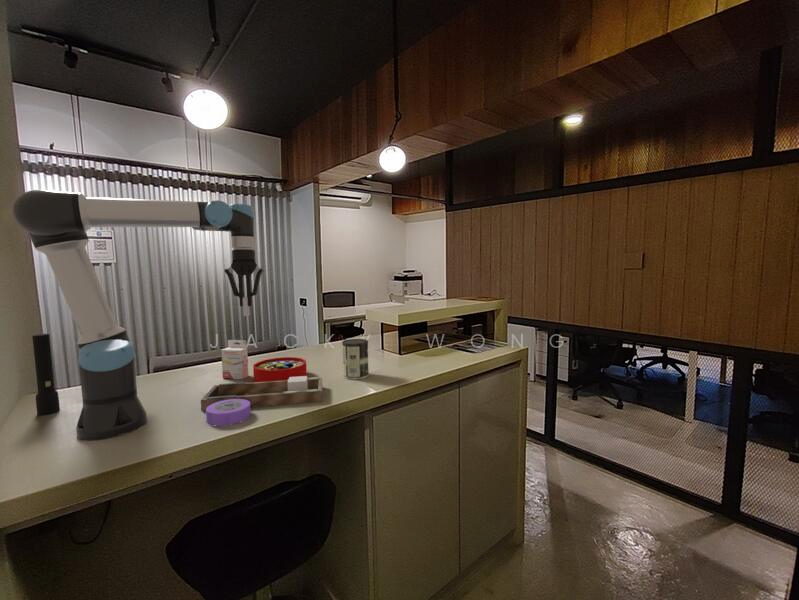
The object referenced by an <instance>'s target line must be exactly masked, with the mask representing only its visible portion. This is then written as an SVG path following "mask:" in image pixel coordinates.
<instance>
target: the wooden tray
mask: <svg viewBox="0 0 799 600" xmlns="http://www.w3.org/2000/svg"><path fill="white" fill-rule="evenodd" d="M288 380H289V379H288ZM288 380H282V381H268V382H246V381H243V382H229V383H226V382H225V383H219V384H214V385H213V386H212V387H211V388H210V390H209V391H208V392H206V393H205V395H204V396H203V397H202V398H201V399H200V406H201V408H200V409H201V412H206V408H207V407H208V406H209V405H211V404H213V403H216V402H219V401H223V400H229V399H244V400H248V401H249V402H250V408H254V407H253V406H259V407H268V406H267V405H272V406H277V405H276V404H284V405H291V404H290V403H297V404H305V402H309V403H316V402H315V401H321V402H323V378H322V377H307V384H308V390H299V391H288ZM317 388H318V389H317ZM273 391H279V392H273ZM260 392H265V393H260ZM245 393H251V394H245Z"/></svg>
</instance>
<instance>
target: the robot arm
mask: <svg viewBox="0 0 799 600" xmlns="http://www.w3.org/2000/svg"><path fill="white" fill-rule="evenodd" d="M11 214H12V216H13V217H12V218H14V220H15V222H16V223H17V225H18V226H20V227H21V228H22V229H24V230H25V231H26V232H27V234H28V236H29V239H30V240H31V243H32V244H33V247H34V249H35V250H36V251H38V252H39V253H42V254H44V255H45V256H46V259H47V261H48V263H49V265H50V268H51V271H52V273H53V274H54V277H55V279H56V282H57V283H58V286H59V288H60V291H61V293H62V295H63V297H64V299H65V302H66V304H67V307H68V309H69V311H70V313H71V316H72V318H73V320H74V323H75V325H76V327H77V329H78V332H79V334H80V337H79V338H78V341H76V345H77V346H78V349H79V351H78V358H77V363H78V365H79V375H80V384H81V385H80V386H81V387H80V388H81V396H82V408H81V411H80V414H79V418H78V421H77V424H76V429H75V431H76V437H77V439H80V440H84V441H95V440H96V441H98V440H103V439H104V440H105V439H109V438H110V439H111V438H115V437H118V436H122V435H125V434H127V433H131V432H134V431H135V430H138V429H140V428H141V427H143V426H144V425H145V424H146V423H147V421H148V418H147V416H148V415H147V411H146V410H145V407H144V406H143V404H142V402H141V400H140V398H139V396H138V391H137V390H138V387H137V386H138V385H137V376H136V360H137V351H136V348H135V346H134V344H133V343H132V342H131V341H130V338H129V335H128V331H127V330H126V328H124V327H122V326H120V325H118V324H117V322H116V320H115V318H114V314H113V312H112V310H111V308H110V305H109V302H108V300H107V297H106V296H105V293H104V291H103V288H102V285H101V283H100V280H99V278H98V276H97V273H96V271H95V268H94V266H93V263H92V261H91V259H90V256H89V254H88V252H87V249H86V246H87V245H88V243H89V242H90V239H89V237H88V234H87V231H88V230H90V229H91V228H191V229H193V230H194V231H202V232H205V231H206V232H230V237H231V238H230V240H231V241H230V242H231V249H232V251H231V260H232V262H231V265H230V266H229V267H227V268H225V269H224V270H223V271H224V273H225V275H227V277H228V281H229V283H230V284H229V285H230V288H231V291H232V293H233V296H234V297H238V298H239V305H240V307H242V310H243V311H242V313H243V314H242V315H243V317H248V316H250V307H252V306H253V297H254V296H256V295H257V294H258V291H259V285H260V281H261V276H262V274H263V273H264V271H265V270H264V269H263V268H261V267H259V266H258V264H257V262H256V251H255V247H256V246H255V233H254V230H255V227H254V226H255V225H254V220H255V218H254V209H253V206H251V205H250V204H246V203H231V204H230V205H229V204H227V202H225V201H223V200H218V199H217V200H210V201H194V200H193V201H190V200H166V199H165V200H163V199H142V198H141V199H140V198H139V199H138V198H119V197H118V198H116V197H115V198H113V197H92V196H90V197H87V196H85V194H83V193H82V192H70V191H58V190H48V189H32V190H29V191H25V192H22V193H21V194H20V195H18V196H17V197H16V198H15V199H14V201H13V203H12V206H11ZM234 272H235V274H236V275H237V279H238V282H237V283H238V287H237V283H236V280H235V276H234V274H233V273H234ZM254 272H255V273H256V275H255V279H254V282H253V283H254V284H253V287H252V274H253V273H254ZM244 276H245V277H244ZM244 278H245V280H246V282H244ZM245 283H246V284H245ZM245 285H246V296H245ZM252 288H253V289H252Z"/></svg>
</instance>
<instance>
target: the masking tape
mask: <svg viewBox="0 0 799 600" xmlns="http://www.w3.org/2000/svg"><path fill="white" fill-rule="evenodd" d="M250 414H252V413H251V407H250V402H249V401H248V400H244V399H229V400H223V401H219V402H216V403H213V404H211V405H209V406H208V407H207V408H206V411H205V416H206V424H207V423H208V425H209V424H210V425H209V426H212V425H216V426H215V427H224V426H223V425H228V426H231V425H230V424H233V425H236V424H235V423H237V424H239V423H238V422H240V421H242V422H244V421H243V420H245V419H246V420H248V419H249V418H250V417H251V415H250ZM249 416H250V417H249ZM248 417H249V418H248ZM247 418H248V419H247ZM246 420H245V421H246ZM240 423H241V422H240Z"/></svg>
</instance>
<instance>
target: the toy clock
mask: <svg viewBox="0 0 799 600" xmlns="http://www.w3.org/2000/svg"><path fill="white" fill-rule="evenodd" d="M252 366H253V367H252V368H253V371H252V372H253V381H255V382H268V381H282V380H288V379H289V377H299V376H307V377H308V372H307V371H308V370H307V360H306V359H304V358H301V357H297V356H295V357H292V356H291V357H290V356H289V357H288V356H287V357H284V356H283V357H282V356H281V357H275V358H274V357H273V358H267V359H264V360H260V361H258V362H255V363H254V364H253V365H252Z"/></svg>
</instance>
